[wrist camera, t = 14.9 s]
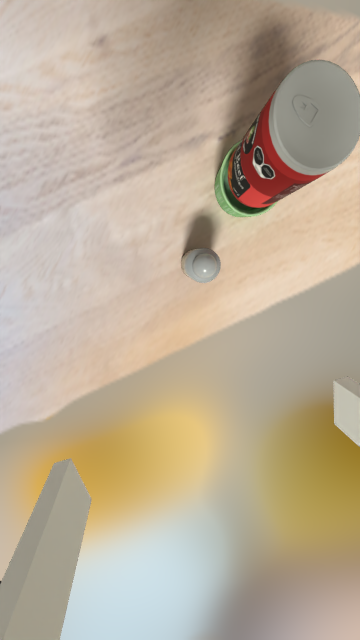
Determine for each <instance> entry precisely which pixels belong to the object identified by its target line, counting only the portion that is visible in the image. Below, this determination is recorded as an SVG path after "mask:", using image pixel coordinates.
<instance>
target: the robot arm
mask: <svg viewBox="0 0 360 640" xmlns="http://www.w3.org/2000/svg"><path fill="white" fill-rule="evenodd" d="M334 424H335V425H336V426H337V427H338V428H339V429H341V430H342V431H343V432H344V433H345V434H346V435H347V436H348V437H349V438H351V439H352V440H353V441H354V442H355V443H356V444H357V445H358V446H359V447H360V383H358V382H356V381H355V380H353V379H351V378H350V377H348V376H347V377H344V378H340V379H337V380H334ZM90 504H91V497H90V495H89V493H88V491H87V489H86V487H85V485H84V483H83V481H82V479H81V477H80V475H79V473H78V471H77V469H76V467H75V466H74V464H73V462H72V460H71V459H67V460H64V461H60V462H57V463H54V465H53V467H52V470H51V472H50V474H49V476H48V478H47V481H46V483H45V485H44V487H43V490H42V492H41V494H40V496H39V498H38V501H37V503H36V505H35V507H34V510H33V512H32V514H31V517H30V519H29V521H28V523H27V525H26V528H25V530H24V532H23V535H22V537H21V539H20V541H19V543H18V546H17V548H16V550H15V552H14V555H13V557H12V559H11V561H10V563H9V566H8V568H7V570H6V573H5V575H4V577H3V579H2V581H0V640H60V635H61V631H62V627H63V622H64V618H65V613H66V609H67V604H68V600H69V596H70V591H71V587H72V583H73V578H74V574H75V569H76V565H77V561H78V556H79V552H80V548H81V543H82V539H83V535H84V530H85V526H86V521H87V517H88V513H89V508H90Z"/></svg>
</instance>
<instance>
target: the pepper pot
mask: <svg viewBox="0 0 360 640" xmlns="http://www.w3.org/2000/svg"><path fill="white" fill-rule="evenodd" d="M181 268H182V271H183V272H184V274H185V275H186V276H188V277H190V278H192V279H193V280H195V281H197V282H200V283H207V282H210V281H212V280H213V279H214V278H215V277H216V276H217V275H218V273H219V271H220V259H219V257H218V255H217V254H216V253H215V252H214V251H213V250H211V249H208V248H201V249H193V250H189V251H188V252H186V253H185V254H184V256H183V257H182V260H181Z"/></svg>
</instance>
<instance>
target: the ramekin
mask: <svg viewBox="0 0 360 640" xmlns="http://www.w3.org/2000/svg"><path fill="white" fill-rule="evenodd" d="M240 142H241V141H239V142H238V143H236V144H235V145H234V146H233V147H232V148H231V149H230V150H229V152H228V153H227V155H226V156H225V158H224V160H223V163H222V165H221V168H220V169H219V171H218V174H217V177H216V181H215V195H216V198H217V201H218V203H219V205H220V206H221V208H222V209H223V210H224V211H225V212H227V213H228V214H230V215H232V216H235V217H246V216H248V217H251V216H257V215H261V214H263V213H265V212H267V211H268V210H270V209H271V208H272V207H273V206H274V205H275V204H276V203H277V202H278V201H277V202H275V203H273V204H272V205H269V206H267V207H261V208H255V207H249V206H246V205H244V204H242V203H241V202H240V201H239V200H237V198H236V197H235V196H234V195H233V193H232V191H231V189H230V186H229V183H228V166H229V161H230V159H231V156H232V154H233V152H234V151H235V149H236V148H237V146H238V145H239V143H240Z"/></svg>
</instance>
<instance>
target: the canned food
mask: <svg viewBox="0 0 360 640" xmlns="http://www.w3.org/2000/svg"><path fill="white" fill-rule="evenodd" d="M359 136H360V94H359V91H358V89H357V87H356V85H355V83H354V81H353V79H352V78H351V77H350V76H349V75H348V73H347V72H346V71H345V70H343V69H342V68H341V67H340V66H338V65H336V64H334V63H332V62H330V61H325V60H311V61H308V62H305V63H302V64H301V65H299V66H297V67H296V68H294V69H293V70H292V71H291V72H290V73H289V74H288V75H287V76H286V78H285V79H284V80H283V81H282V82H281V83H280V85H279V86H278V88H277V89H276V91H275V92H274V93H273V95H272V96H271V98H270V99H269V101H268V102H267V104H266V105H265V106H264V108H263V109H262V111H261V112H260V114H259V115H258V117H257V118H256V120H255V121H254V123H253V124H252V126H251V127H250V129H249V130H248V132H247V133H246V135H245V136H244V138H243V139H242V140H241V142H240V143H239V145H238V146H237V148H236V149H235V151H234V152H233V154H232V156H231V159H230V161H229V166H228V183H229V186H230V189H231V191H232V193H233V195H234V196H235V197H236V198H237V200H239V201H240V202H241V203H242V204H244V205H246V206H249V207H255V208H261V207H267V206H269V205H272V204H273V203H275V202H277V201H279V200H280V199H282V198H284V197H286V196H288V195H289V194H291V193H293V192H295V191H296V190H298V189H300V188H302V187H303V186H305V185H307V184H309V183H310V182H312V181H314V180H316V179H318V178H319V177H321V176H323V175H324V174H326V173H328V172H329V171H331V170H332V169H334V168H336V167H337V166H338V165H339V164H341V163H342V162H343V161H344V160H345V159H346V158H347V157H348V156H349V155H350V154H351V152H352V151H353V149H354V148H355V146H356V144H357V142H358V139H359Z"/></svg>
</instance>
